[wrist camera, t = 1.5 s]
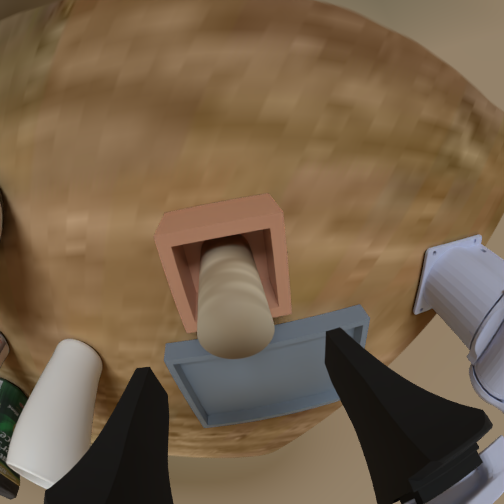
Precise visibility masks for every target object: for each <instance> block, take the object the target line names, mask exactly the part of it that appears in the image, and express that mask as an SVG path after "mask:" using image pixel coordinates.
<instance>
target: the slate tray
mask: <svg viewBox="0 0 504 504" xmlns="http://www.w3.org/2000/svg"><path fill="white" fill-rule="evenodd" d="M369 321H370V318H369V316H368V315H367V313H366V312H365V310H364V309H363V308H362V306H361V305H356V306H352V307H349V308H345V309H341V310H337V311H333V312H330V313H326V314H322V315H318V316H313V317H309V318H305V319H301V320H296V321H292V322H287V323H283V324H278V325H274V326H275V331H274V335H273V338H272V340H271V342H270V343H269V344H268V345H267V346H266V347H265V348H264V349H263V350H262V351H260V352H259V353H257V354H255V355H252V356H250V357H246V358H242V359H225V358H220V357H217V356H215V355H212V354H211V353H209V352H207V351H206V350H205V349H204V348H203V347H202V346H201V344H200V342H199V340H198V339H196V340H189V341H182V342H175V343H167V344H166V348H165V356H164V362H165V364H166V366H167V367H168V369H169V371H170V373H171V375H172V376H173V378H174V380H175V382H176V384H177V385H178V387H179V389H180V390H181V392H182V394H183V395H184V397H185V399H186V400H187V402H188V404H189V405H190V407H191V409H192V410H193V412H194V413H195V415H196V416H197V418H198V420H199V421H200V423H201V424H202V426H203V427H204V428H209V427H218V426H226V425H234V424H240V423H247V422H253V421H258V420H264V419H269V418H274V417H279V416H283V415H288V414H292V413H296V412H300V411H304V410H308V409H312V408H316V407H319V406H323V405H326V404H330V403H333V402H336V401H339V400H340V398H339V396H338V394H337V392H336V390H335V388H334V386H333V384H332V382H331V379H330V377H329V374H328V371H327V368H326V366H325V363H324V362H325V340H326V331H329V330H332V329H336V328H339V327H340V328H342V329H343V330H344V331H345V332H346V333H347V334H348V335H350V336H351V337H352V338H353V339H354V340H355V341H356V342H357V343H358V344H360V345H361V346H362V347H363V348H365V343H366V338H367V332H368V327H369Z"/></svg>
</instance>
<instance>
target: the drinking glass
mask: <svg viewBox="0 0 504 504" xmlns="http://www.w3.org/2000/svg"><path fill="white" fill-rule="evenodd" d="M102 367H103V366H102V361H101V358H100V356H99V355H98V354H97V352H96V351H95V350H94V349H93V348H91V347H90V346H89V345H87V344H86V343H84V342H82V341H79V340H75V339H65V340H62V341H61V342H59V344H58V345H57V347H56V349H55V351H54V353H53V355H52V357H51V359H50V360H49V362H48V364H47V366H46V367H45V369H44V371H43V373H42V374H41V376H40V378H39V380H38V382H37V384H36V385H35V387H34V389H33V391H32V393H31V395H30V397H29V398H28V400H27V402H26V404H25V406H24V408H23V410H22V412H21V415H20V417H19V419H18V421H17V424H16V426H15V429H14V432H13V435H12V438H11V441H10V445H9V450H8V454H7V460H6V464H7V465H8V466H9V467H10V468H11V469H12V470H14V471H15V472H17V473H18V474H20V475H21V476H23V477H24V478H26V479H28V480H30V481H31V482H34V483H35V484H37V485H39V486H41V487H43V488H46V489H48V488H50V487H51V486H52V485H54V484H55V483H56V482H57V481H59V480H60V479H61V478H62V477H63V476H64V475H66V474H67V473H68V472H69V471H70V470H71V469H72V468H73V467H74V466H75V465H76V464H77V463H78V461H79V460H80V459H81V458H82V457H83V455H84V454H85V453H86V452H87V451H88V449H89V448H90V444H91V433H92V424H93V415H94V408H95V401H96V395H97V389H98V384H99V379H100V376H101V372H102Z"/></svg>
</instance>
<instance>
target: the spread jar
mask: <svg viewBox="0 0 504 504" xmlns="http://www.w3.org/2000/svg"><path fill="white" fill-rule="evenodd" d="M3 225H4V205H3V199H2V195H1V192H0V241H1V237H2V232H3Z"/></svg>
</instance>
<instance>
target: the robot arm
mask: <svg viewBox="0 0 504 504" xmlns="http://www.w3.org/2000/svg"><path fill="white" fill-rule="evenodd" d="M481 241H482V236H481V235H475V236H472V237H468V238H465V239H461V240H457V241H454V242H450V243H447V244H443V245H439V246H436V247H432V248H429V249H428V250H427V251H426V253H425V259H424V264H423V270H422V275H421V279H420V284H419V289H418V293H417V297H416V301H415V305H414V309H413V313H414V314H415V315H417V314H419V313H422V312H425V311H427V310H430V309H432V308H433V309H434V311H435V312H436V313H437V314H438V315H439V316H440V317H441V318H442V319H443V320H444V321H445V322H446V324H447V325H448V326H449V327H450V328H451V329H452V330H453V331H454V333H455V334H456V335H457V336H458V337H459V338H460V339H461V340H462V342H463V343H464V344H465V345H466V346H467V348H468V349H469V350H470V352H469V354H468V355H467V358H468V360H469V361H470V362H471V365H470V368H469V375H470V379H471V384H472V386H473V388H474V390H475V392H476V393H477V394H478V396H479V397H480V398H481V399H482V400H484V401H485V402H486V403H488V404H490V405H493V406H495V407H496V408H498V409H499V410H500V411H502V412H503V413H504V260H503V259H502V258H500V257H499V256H498V255H496V254H495V253H493V252H492V251H491V250H489V249H488V248H486V247H485V246H483V245H482V244H481ZM324 363H325V366H326V368H327V371H328V374H329V377H330V379H331V382H332V384H333V386H334V388H335V390H336V392H337V394H338V396H339V398H340V400H341V402H342V404H343V406H344V408H345V410H346V412H347V414H348V416H349V418H350V420H351V422H352V424H353V426H354V428H355V431H356V433H357V436H358V439H359V442H360V444H361V447H362V450H363V453H364V456H365V459H366V462H367V466H368V469H369V472H370V476H371V479H372V483H373V487H374V491H375V495H376V500H377V504H393V503H395V502H397V501H399V500H400V502H401V504H493V503H494V502H495V501H496V500H497V499H498V498H499V497H500V496H501V495H502V493H503V492H504V437H503V436H502V435H501V436H499V437H498V438H497V439H496V440H495V441H494V442H492V443H491V444H490V445H489V446H488V447H487V448H485V449H484V450H483V451H482V452H480V453H479V454H478V452H477V449H479V446H478V445H477V443H476V442H477V441H478V440H480V439H481V438H482V437H483V436H484V435H485V434H486V433H487V432H488V431H489V430H490V429H491V428H492V426H493V424H492V423H491V421H490V420H489V418H488V416H487V415H486V414H485V412H484V411H483V410H481V409H477V408H473V407H469V406H465V405H461V404H458V403H455V402H452V401H450V400H447V399H445V398H442V397H440V396H438V395H435V394H433V393H430V392H428V391H426V390H424V389H422V388H421V387H419V386H417V385H415V384H413V383H411V382H410V381H408V380H406V379H405V378H403V377H401V376H400V375H399V374H397V373H396V372H394V371H393V370H391V369H390V368H388V367H387V366H386V365H384V364H383V363H382V362H380V361H379V360H378V359H377V358H375V357H374V356H373V355H372V354H370V353H369V352H368V351H367V350H365V349H364V348H363V347H362V346H361V345H360V344H358V343H357V342H356V341H355V340H354V339H353V338H352V337H351V336H350V335H348V334H347V333H346V332H345V331H344V330H343V329H342V328H340V327H339V328H336V329H332V330H329V331H326V340H325V362H324ZM168 433H169V406H168V394H167V393H166V391H165V390H164V388H163V387H162V385H161V384H160V382H159V381H158V379H157V378H156V376H155V375H154V373H153V371H152V370H151V368H150V367H144V368H136V370H135V372H134V374H133V375H132V377H131V379H130V381H129V383H128V385H127V387H126V389H125V391H124V393H123V395H122V396H121V398H120V400H119V402H118V404H117V406H116V408H115V409H114V411H113V413H112V415H111V416H110V418H109V420H108V421H107V423H106V425H105V426H104V428H103V430H102V431H101V433H100V434H99V436H98V437H97V439H96V440H95V441H94V443H93V444H92V446H91V447H90V448H89V449H88V451H87V452H86V453H85V454H84V455H83V457H82V458H81V459H80V460H79V461H78V463H77V464H76V465H75V466H74V467H73V468H72V469H71V470H70V471H69V472H68V473H67V474H66V475H64V476H63V477H62V478H61V479H60V480H59V481H57V482H56V483H55V484H54V485H52V486H51V487H50V488H48V489H47V490H46V491H45V497H44V504H173V499H172V494H171V488H170V481H169V472H168Z"/></svg>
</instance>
